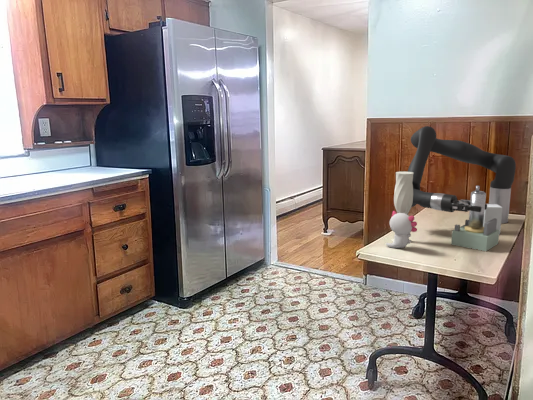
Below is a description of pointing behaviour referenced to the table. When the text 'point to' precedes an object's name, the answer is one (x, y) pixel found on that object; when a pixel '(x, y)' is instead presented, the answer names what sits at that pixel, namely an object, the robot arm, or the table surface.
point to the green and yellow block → (476, 236)
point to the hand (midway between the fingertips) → (483, 208)
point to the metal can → (477, 200)
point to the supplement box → (493, 214)
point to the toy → (401, 229)
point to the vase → (403, 192)
